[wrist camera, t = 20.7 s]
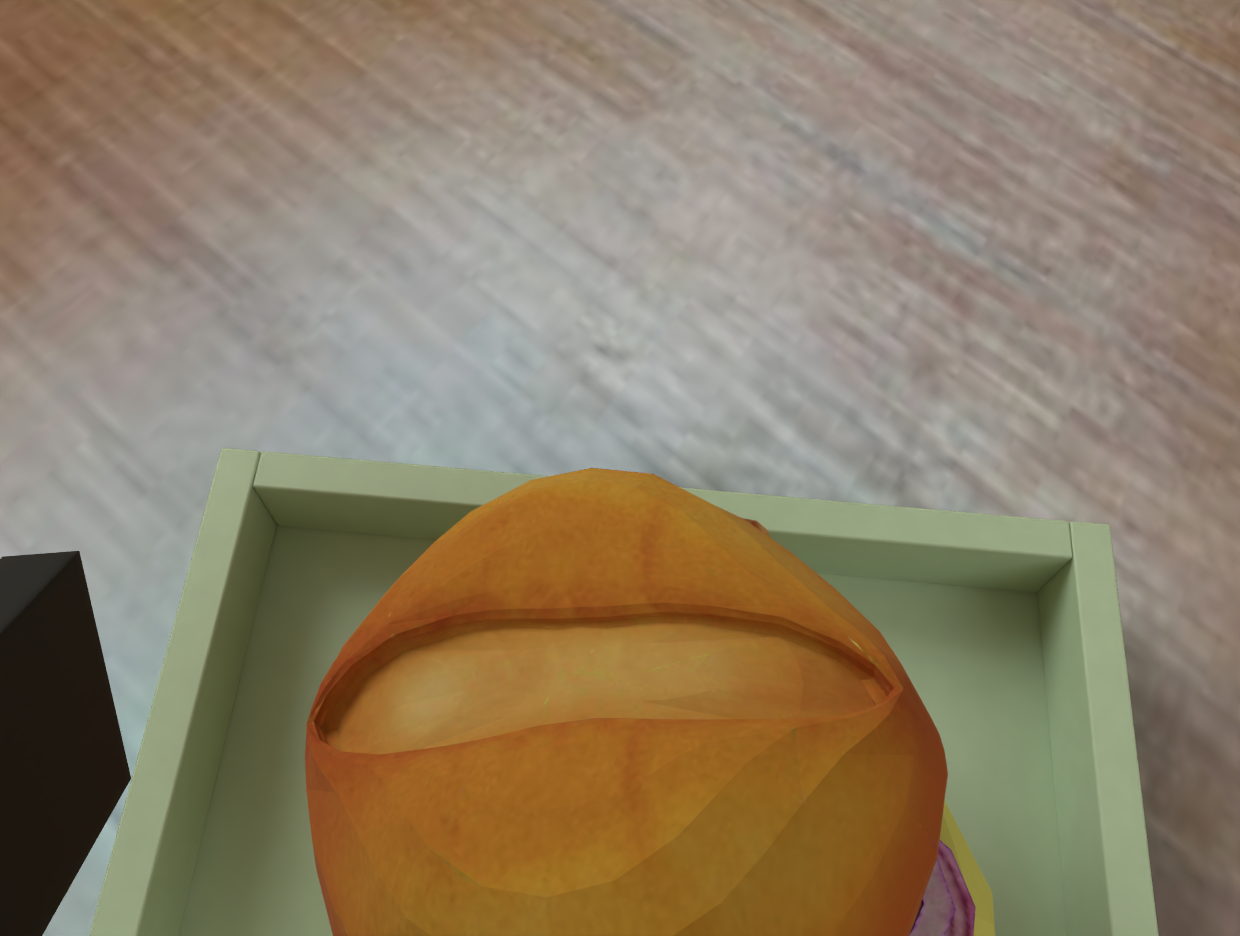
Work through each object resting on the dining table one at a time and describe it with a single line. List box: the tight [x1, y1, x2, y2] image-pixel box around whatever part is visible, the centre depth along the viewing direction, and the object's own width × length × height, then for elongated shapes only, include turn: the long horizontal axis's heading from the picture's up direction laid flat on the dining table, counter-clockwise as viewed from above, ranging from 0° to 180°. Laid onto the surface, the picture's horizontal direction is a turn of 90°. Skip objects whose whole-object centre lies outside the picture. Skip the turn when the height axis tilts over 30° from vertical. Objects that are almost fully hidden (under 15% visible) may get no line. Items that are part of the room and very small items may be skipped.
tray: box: [89, 448, 1159, 936], centre depth 20 cm, size 18×15×3 cm
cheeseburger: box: [305, 468, 995, 936], centre depth 17 cm, size 10×11×10 cm
